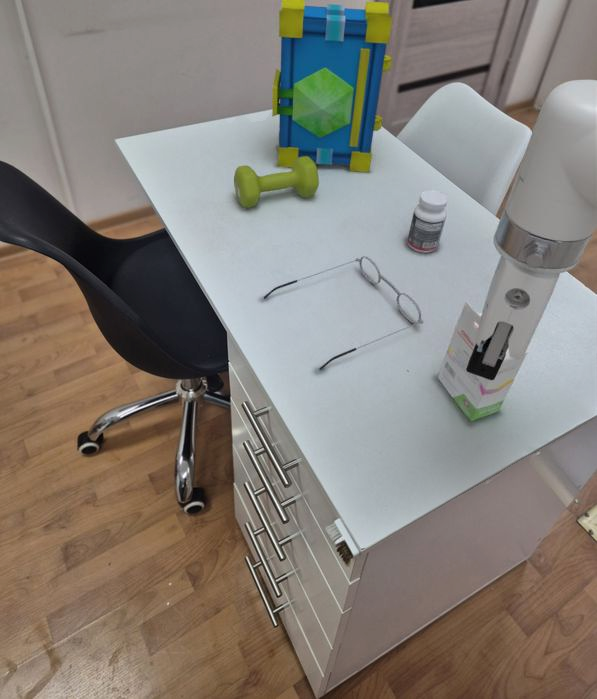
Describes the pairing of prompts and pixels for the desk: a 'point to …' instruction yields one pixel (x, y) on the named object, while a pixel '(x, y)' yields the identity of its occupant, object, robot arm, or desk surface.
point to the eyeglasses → (373, 283)
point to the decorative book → (330, 82)
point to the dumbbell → (276, 181)
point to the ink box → (466, 387)
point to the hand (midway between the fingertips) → (480, 371)
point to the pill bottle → (428, 222)
